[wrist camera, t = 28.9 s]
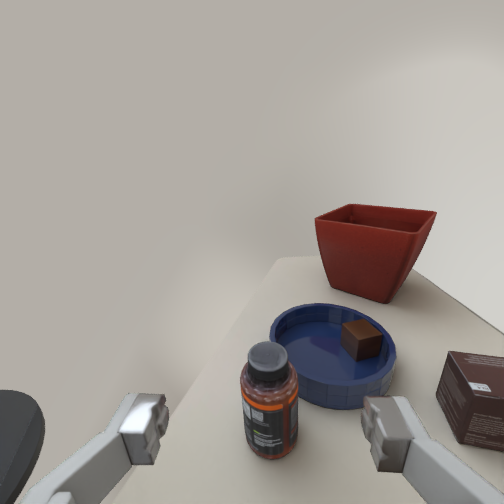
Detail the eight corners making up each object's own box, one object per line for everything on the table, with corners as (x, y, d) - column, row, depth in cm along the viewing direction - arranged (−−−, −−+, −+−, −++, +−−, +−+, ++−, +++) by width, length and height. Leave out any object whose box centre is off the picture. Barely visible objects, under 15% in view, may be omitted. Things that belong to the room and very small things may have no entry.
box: (491, 404, 30) (510, 357, 28) (527, 459, 25) (555, 406, 22) (433, 394, 32) (446, 349, 29) (456, 444, 27) (474, 393, 24)
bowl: (309, 432, 28) (311, 407, 27) (253, 337, 44) (252, 317, 42) (421, 381, 34) (427, 358, 33) (337, 312, 49) (338, 294, 48)
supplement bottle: (291, 406, 31) (292, 332, 27) (303, 459, 26) (306, 376, 22) (244, 410, 31) (238, 336, 27) (245, 465, 26) (238, 382, 22)
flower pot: (401, 319, 46) (418, 232, 40) (309, 288, 59) (312, 218, 53) (422, 281, 59) (438, 210, 53) (344, 262, 72) (349, 203, 66)
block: (355, 362, 37) (358, 340, 35) (340, 344, 40) (342, 323, 39) (378, 355, 38) (382, 334, 36) (361, 338, 41) (364, 318, 40)
